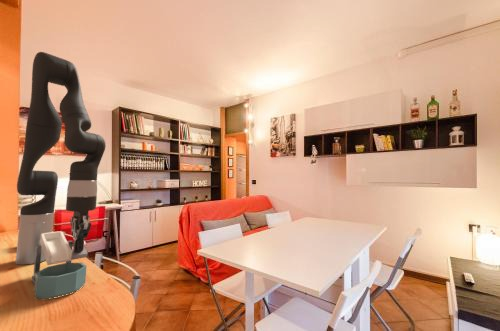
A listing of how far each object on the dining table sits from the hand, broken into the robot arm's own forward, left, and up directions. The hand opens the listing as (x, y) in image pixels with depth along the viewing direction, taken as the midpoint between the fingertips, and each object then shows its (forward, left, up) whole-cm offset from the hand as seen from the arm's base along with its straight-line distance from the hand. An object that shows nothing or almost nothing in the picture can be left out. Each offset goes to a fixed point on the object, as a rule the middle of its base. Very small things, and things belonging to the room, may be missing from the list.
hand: (78, 251), depth 69 cm
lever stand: (-6, -4, -8) cm, 11 cm away
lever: (-7, -2, -3) cm, 8 cm away
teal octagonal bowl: (+5, -4, -8) cm, 11 cm away
